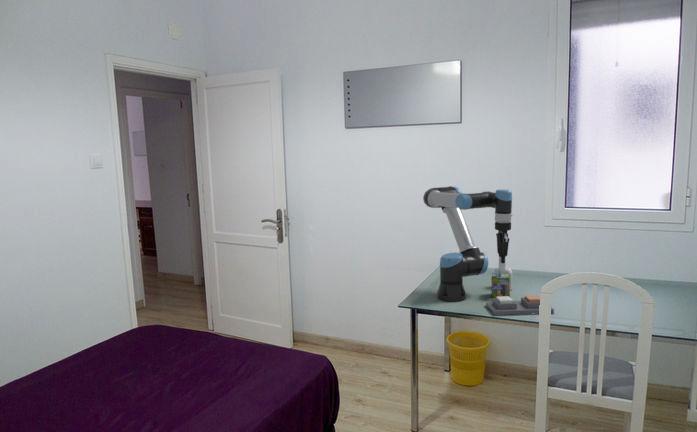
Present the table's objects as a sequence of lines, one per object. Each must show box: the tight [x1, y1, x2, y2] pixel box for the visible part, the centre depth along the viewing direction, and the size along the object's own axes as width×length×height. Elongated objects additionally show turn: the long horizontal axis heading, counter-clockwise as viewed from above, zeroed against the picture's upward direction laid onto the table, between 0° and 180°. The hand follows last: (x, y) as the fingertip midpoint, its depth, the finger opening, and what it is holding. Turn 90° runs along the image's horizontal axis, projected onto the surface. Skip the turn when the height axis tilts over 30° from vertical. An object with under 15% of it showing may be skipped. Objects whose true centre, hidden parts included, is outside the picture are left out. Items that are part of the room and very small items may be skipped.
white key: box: [496, 296, 514, 304], centre depth 225 cm, size 6×6×2 cm
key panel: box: [485, 296, 555, 316], centre depth 226 cm, size 28×14×4 cm, turn 90°
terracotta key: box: [524, 294, 541, 303], centre depth 225 cm, size 6×6×2 cm
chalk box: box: [490, 269, 511, 299], centre depth 246 cm, size 9×9×15 cm
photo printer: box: [493, 266, 514, 291], centre depth 260 cm, size 10×4×12 cm, turn 39°
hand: (501, 268), depth 227 cm, fingers closed
